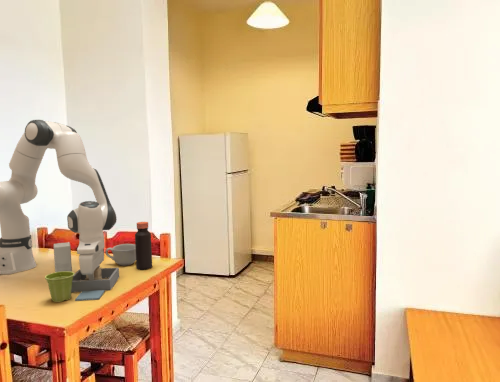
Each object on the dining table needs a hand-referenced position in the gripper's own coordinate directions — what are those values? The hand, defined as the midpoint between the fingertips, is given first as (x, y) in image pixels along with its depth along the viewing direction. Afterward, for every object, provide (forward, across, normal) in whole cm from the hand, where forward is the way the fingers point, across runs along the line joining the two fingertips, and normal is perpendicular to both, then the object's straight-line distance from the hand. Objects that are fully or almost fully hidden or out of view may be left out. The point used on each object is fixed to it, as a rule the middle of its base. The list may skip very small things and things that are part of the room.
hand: (94, 279), depth 162 cm
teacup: (+2, -28, +5) cm, 29 cm away
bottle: (+2, -20, +16) cm, 26 cm away
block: (+2, 0, 0) cm, 2 cm away
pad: (+2, +13, +2) cm, 13 cm away
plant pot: (+2, +14, -8) cm, 16 cm away
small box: (+2, -14, -16) cm, 21 cm away
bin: (+2, 0, 0) cm, 2 cm away
